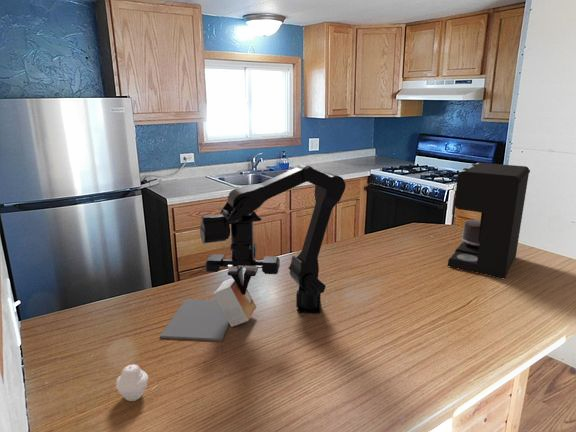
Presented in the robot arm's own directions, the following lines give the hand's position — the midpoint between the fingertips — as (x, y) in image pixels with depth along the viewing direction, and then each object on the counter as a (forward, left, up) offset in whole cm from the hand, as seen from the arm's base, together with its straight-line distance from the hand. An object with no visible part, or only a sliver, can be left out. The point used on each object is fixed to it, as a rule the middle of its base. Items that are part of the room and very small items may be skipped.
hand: (243, 293), depth 110 cm
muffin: (+17, +31, -8) cm, 36 cm away
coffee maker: (-80, -51, -8) cm, 95 cm away
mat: (+12, 0, -8) cm, 14 cm away
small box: (0, 0, -7) cm, 7 cm away
